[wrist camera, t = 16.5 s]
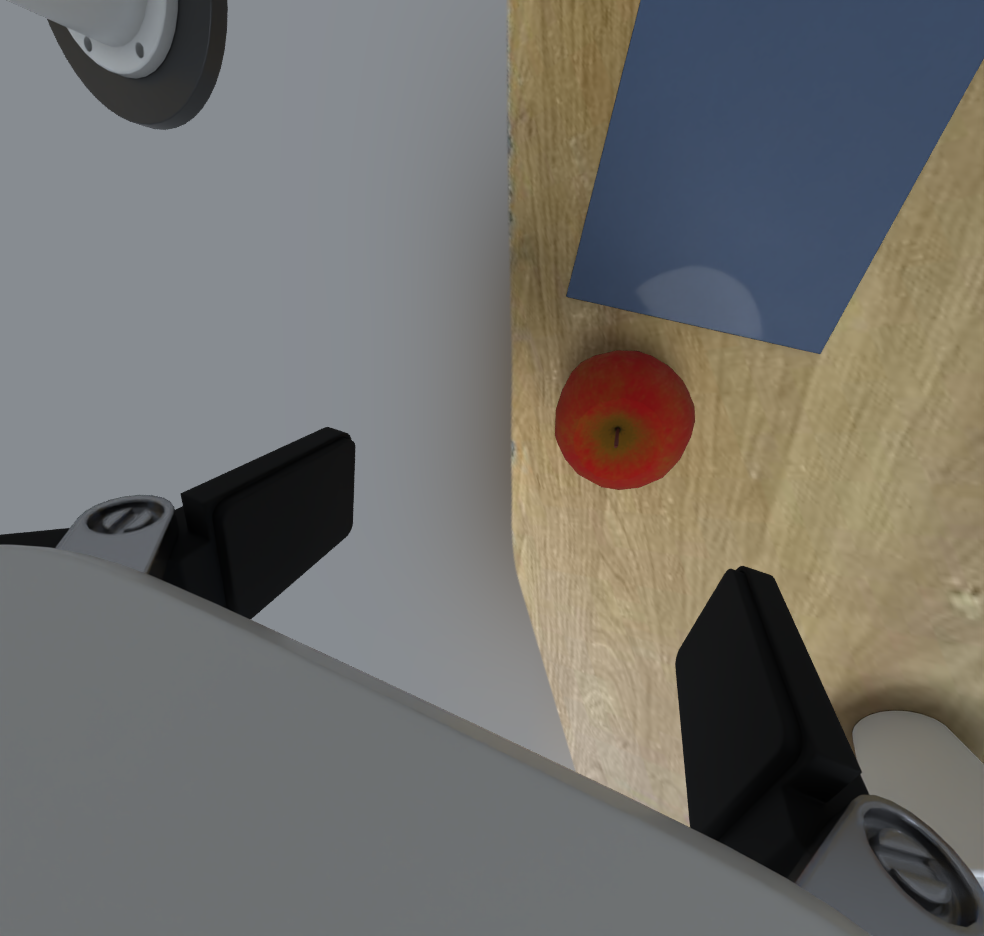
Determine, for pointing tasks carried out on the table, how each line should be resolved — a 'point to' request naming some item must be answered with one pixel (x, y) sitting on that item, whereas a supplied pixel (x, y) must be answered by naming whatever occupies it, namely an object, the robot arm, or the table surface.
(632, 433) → the apple
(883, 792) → the cup
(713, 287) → the napkin
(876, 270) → the table surface
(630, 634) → the table surface
